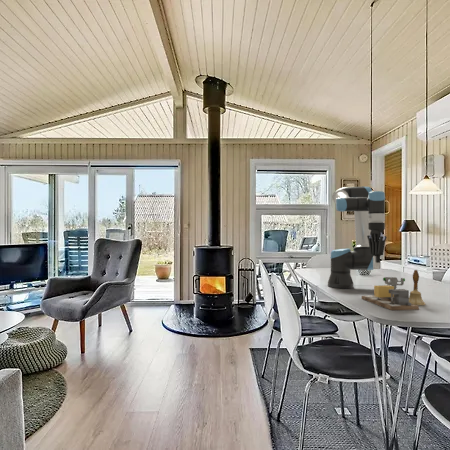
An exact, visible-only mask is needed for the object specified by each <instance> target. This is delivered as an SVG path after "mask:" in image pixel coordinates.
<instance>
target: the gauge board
mask: <svg viewBox="0 0 450 450" xmlns="http://www.w3.org/2000/svg"><path fill="white" fill-rule="evenodd" d="M409 291H410V290H408V289H405V288H399V289H398V288H396V289H389V293H391V297H379V298H377V297H376V296H374V295H372V294H371V295H369V294H368V295H361V300H363V301H366V302H369V303H372V304H374V305H376V304H377V305H376V306H380V307H382V308H384V309H387V310H390V311H410V310H413V311H414V310H415V311H416V310H420V308H419V307H420V305H414V304H411V303H410V302H409V296H410V292H409ZM393 294H394V297H393Z"/></svg>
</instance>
